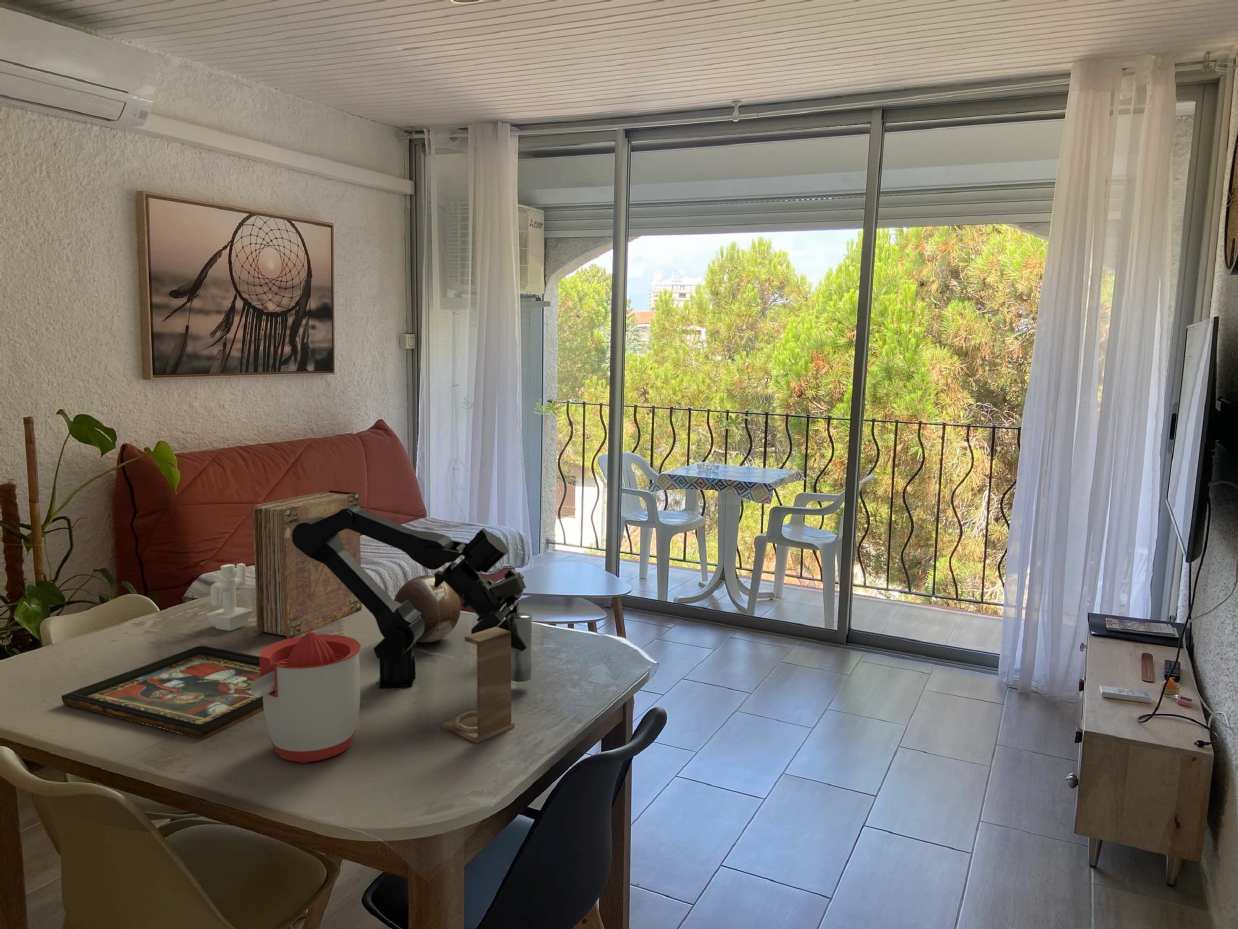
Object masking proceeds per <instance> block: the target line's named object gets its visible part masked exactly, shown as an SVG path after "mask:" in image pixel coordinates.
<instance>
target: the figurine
mask: <svg viewBox="0 0 1238 929" xmlns="http://www.w3.org/2000/svg"><path fill="white" fill-rule="evenodd" d="M220 571H221V572H220V573H221V580H220V581H217V582H214V583H212V584H211V586H210V605H211V606H212V607H219V606H220V605H221V604H222V608H220V609H218V610H215V611H211V612H208V613H206V614H205V615H206V616H207V617H208V619H209V620H210V622H211V623H212V625H213V626H214V628H215V629H216V630H221V631H223V630H224V631H231V632H232V631H233V630H237V629H239V628H241V627H242V628H243V627H245V626H246V625H247V622H248V621H249V619H250V617H251V615H252V613H253V612H254V609H252V608H251V609H250V608H246V607H240V606H239V607H238V606H237V598H236V597H237V596H236V595H237V594H236V592H237V591H236V590H237V589H239V588H242V587H244V586H245V585H246V583H247V568H246V564H245V563H242V562H241V563H237V564H236V565H235V564H233V563H231V564H229V563H227V564H224V565H220ZM221 597H222V601H221Z"/></svg>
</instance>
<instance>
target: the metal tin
mask: <svg viewBox="0 0 1238 929" xmlns="http://www.w3.org/2000/svg"><path fill="white" fill-rule="evenodd" d="M532 616H533V615H532V614H531V613H530V612H529V613H528V612H521V611H519V612H518V613H512V614H510V624H511V626H512V628H513V629H514V630H515V632H516V633H517V634H518V636H519V637H520V638H521V640H522V641H523V642H524V644H525V645H526V649H525V650H524V651H520V650H518V649H515V648H512V647H511V682H515V683H516V682H517V683H521V682H522V683H524V682H528V681H531V680H532V675H533V674H532V671H533V670H532V660H533V659H532V657H533V656H532V652H533V651H532V647H533V644H532V642H533V640H532V639H533V638H532V634H533V633H532V631H533V626H532V625H533V624H532V622H533V620H532V618H533V617H532Z"/></svg>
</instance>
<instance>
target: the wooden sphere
mask: <svg viewBox="0 0 1238 929" xmlns="http://www.w3.org/2000/svg"><path fill="white" fill-rule="evenodd" d="M434 583H435V576H434V575H429V574H427V575H420V576H415V577H413V578H411V579H410V580H408V581H407V582H405V583H404V584H403V585H402V586H401V587H400V588H399V589H398V591H397V593H396V595H395V596H394V599H393V600H394V601H396V602H399V603H401V604H403V603H404V602H405V601H406V600H408V601H410V602H411V604H412V605H413V607H414V608H415V609H416V610H417V611H419V612H421V613H422V615H420V616H421V617H422V619H423V620H424V623H425V624H424V632H423V634H422V635H421V637H420V638H419V639H418V640H416V643H421V644H422V643H424V644H426V643H428V644H429V643H433V642H437V641H440V640H443V639H444V638H445V637H447V636H448V635H450V633H451V632H452V631H453V630H454V629H455V627H456V626H457V624H458V621H459V619H460V618H461V617H460V616H461V611H462V610H461V608H462V607H461V606H462V603H461V598H460V597H459V596H458V595H457V594H456V593H455V592H454V591H453V590H452V589H451V588H450V587H449V586H448V585H447V583H446V582H445V581H444V582H443V583H442V584H441V585H440V586H438V587H437V588H435V587H434Z"/></svg>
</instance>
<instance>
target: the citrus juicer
mask: <svg viewBox="0 0 1238 929" xmlns="http://www.w3.org/2000/svg"><path fill="white" fill-rule="evenodd" d="M361 647H362V646H361V643H360V642H359V641H358V640H357V639H355V638H353V637H349V636H345V635H339V634H327V633H326V634H325V633H323V634H322V633H321V634H318V633H316V632H314V631H312V630H311V631H308V632H306V633H304V635H302V636H301V635H298V636H296V637H293V638H289V639H286V638H285V639H283V640H279V641H276V642H273V643H271V644H269V645H268V646H266V647H264V648H263V649H262V650H261V652H260V654H259V660H260V678H258V679H257V680H255V681H254V682H253V684H252V686H251V693H252V695H253V696H254V697H257V698H258V697H261V696H263V707H264V710H263V713H264V720H265V723H266V728H267V731H268V734H269V737H270V741H271V744H272V746H273V748H274V750H275V752H276V753H277V755H278V756H279V757H280V758H282V759H284V760H287V761H291V762H298V763H300V764H306V763H309V762H317V761H321V760H326V759H329V758H332V757H335V756H337V755H339V754H341V753H343V752H345V751H346V750H347V749H348V748H349V747H350V745H351V743H352V740H353V738H354V736H355V734H356V727H357V724H358V721H359V715H360V709H361V708H360V707H361V706H360V705H361V679H360V678H361V676H360V672H361V671H360V668H361V667H360V651H361Z"/></svg>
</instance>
